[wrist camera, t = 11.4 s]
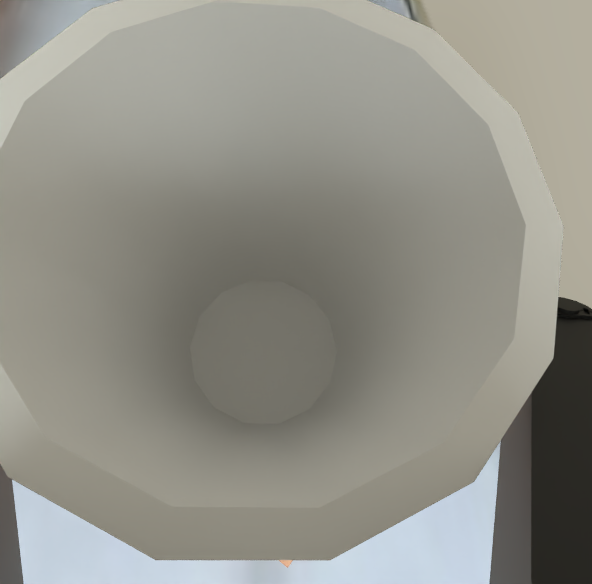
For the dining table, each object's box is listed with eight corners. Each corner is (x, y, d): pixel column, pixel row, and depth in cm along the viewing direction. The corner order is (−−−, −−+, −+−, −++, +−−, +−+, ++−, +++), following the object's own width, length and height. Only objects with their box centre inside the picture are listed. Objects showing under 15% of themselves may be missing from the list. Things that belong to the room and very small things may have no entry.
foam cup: (254, 208, 21) (237, -104, 9) (417, 336, 20) (665, 184, 8) (101, 368, 19) (-222, 249, 6) (275, 525, 18) (295, 760, 5)
